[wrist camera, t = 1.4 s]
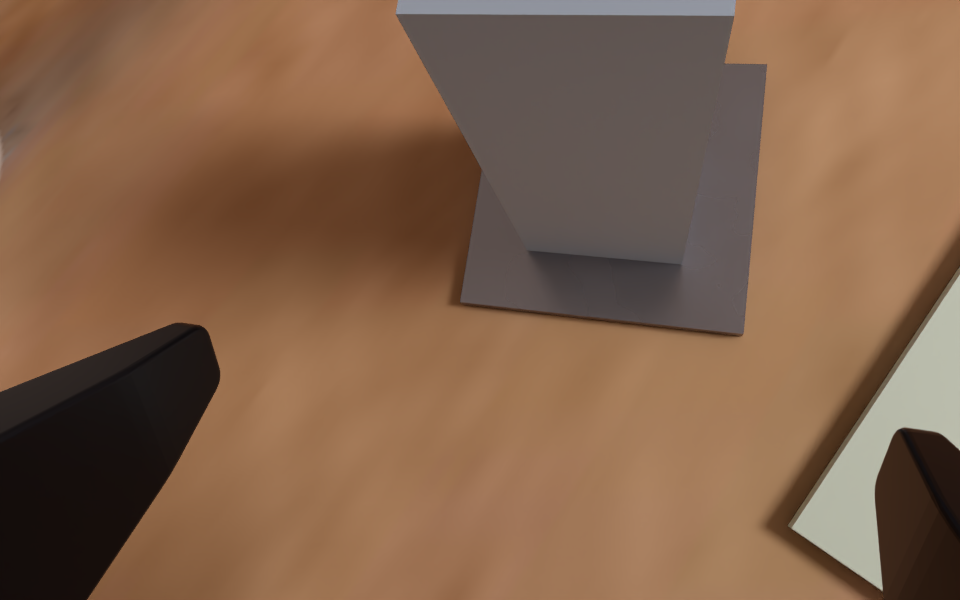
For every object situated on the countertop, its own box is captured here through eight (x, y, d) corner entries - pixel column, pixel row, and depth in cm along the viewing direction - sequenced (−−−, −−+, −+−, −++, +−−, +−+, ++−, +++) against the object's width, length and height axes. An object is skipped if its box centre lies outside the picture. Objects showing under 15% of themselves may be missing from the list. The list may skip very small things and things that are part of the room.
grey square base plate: (741, 336, 21) (759, 314, 18) (462, 304, 24) (434, 280, 20) (764, 70, 23) (785, 8, 20) (502, 64, 25) (481, 7, 22)
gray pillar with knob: (682, 264, 22) (742, -23, 9) (527, 250, 23) (377, -20, 10) (697, 118, 23) (772, -340, 10) (547, 112, 24) (434, -301, 11)
